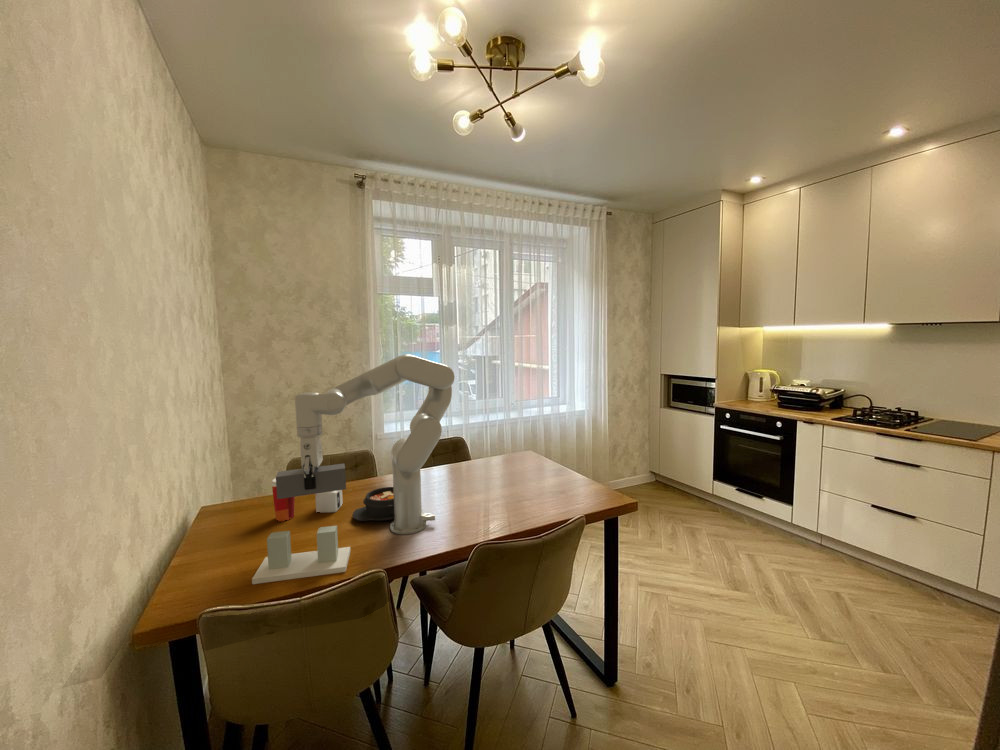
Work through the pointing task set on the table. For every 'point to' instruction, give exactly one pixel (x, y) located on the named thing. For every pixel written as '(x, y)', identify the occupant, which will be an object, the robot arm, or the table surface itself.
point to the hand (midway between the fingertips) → (312, 484)
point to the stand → (302, 557)
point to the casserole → (377, 506)
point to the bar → (325, 479)
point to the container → (328, 501)
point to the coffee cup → (282, 505)
